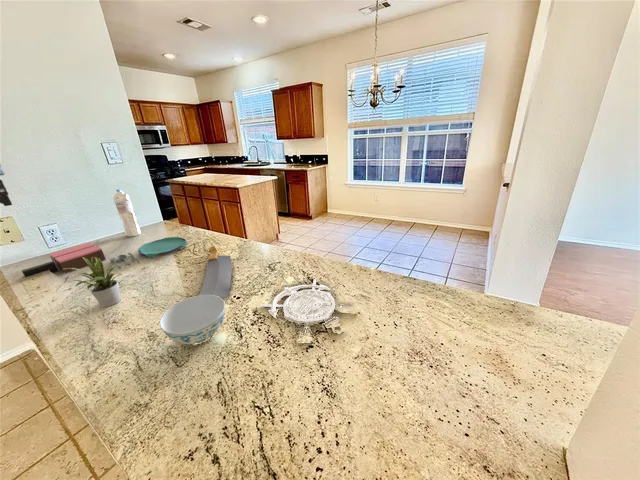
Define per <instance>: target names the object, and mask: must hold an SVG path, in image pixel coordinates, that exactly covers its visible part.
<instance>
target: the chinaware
mask: <svg viewBox="0 0 640 480" xmlns="http://www.w3.org/2000/svg"><path fill="white" fill-rule="evenodd" d="M198 295H199V294H198ZM198 295H195V296H190V297H188V298H185V299H182V300H180V301H179V302H177V303H175V304H174V305H172V306H171V307H169V308H168V309H167V310H165V312H164V313H163V314H162V316H161V318H160V319H159V327H160V330H162V332H163V333H164V334H165V336H167V338H169V339H171V340H172V341H174V342H176V343H179V344H182V345H190V344H195V343H200V342H203V341H205V340H206V339H208V338H209V337H211V336H212V335H213V336H214V334H216V332H218V330H219V329H220V328H221V326H222V323H223V321H224V318H225V315H226V314H225V313H226V303H225V300H223V299H224V298H223V299H221V298H220V297H218V296H215V295H199V296H198ZM213 336H212V337H213Z"/></svg>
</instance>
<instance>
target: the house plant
mask: <svg viewBox="0 0 640 480" xmlns="http://www.w3.org/2000/svg"><path fill="white" fill-rule="evenodd" d="M82 258H83V259H84V260H85V261H86V263H87V265H88V266H87V267H88V268H89V269H90V271H91V273H88V272H86V271H83V270H81V269H75V268H65V269H72V270H74V271H79V272H80V273H74V274H70V277H72V276H74V275H75V276H76V277H78V276H79V275H81V276H83V277H85V278H88V280H80V279H74V280H73V282H78V283H76V284H75V286H74V288H76V287H78V286H79V285H81V284H84V285H83V287H84V286H87V290H89V291H90V293H91V294H92V296H93V297H94V298H95V300H96V301H97V302H98V304H99V305H100V306H101V307H102V306H103V307H102V308H107V307H106V306H108V307H112V306H114V305H116V304H118V303H119V302H120V301H121V300H120V299H122V298H121V292H120V287H119V282H118V280H116V277H119V276H123V274H121V273H119V274H117V275H116V276H115V273H111V272H112V271H113V270H114V269H115V268H118V267H117V266H116V265H115V264H114V263H115V262H116V261H115V262H114V263H112V261H110V263H109V265H108V268H107V271H106V273H105V268H104V263H103V261H101V260H100V259H99V258H98V260H99V261H98V260H97V258H95V259H96V262H95V263H94V260H93V257H92V258H91V262H90V261H89V260H88V259H86V258H84V257H82ZM113 258H115V256H114V257H113ZM113 258H112V260H113ZM116 260H117V262H118V261H119V259H116ZM117 262H116V263H117ZM91 263H92V264H91ZM113 264H114V265H115V266H113ZM105 274H106V276H105ZM118 301H119V302H118ZM117 302H118V303H117ZM115 303H116V304H115ZM113 304H114V305H113ZM111 305H112V306H111Z"/></svg>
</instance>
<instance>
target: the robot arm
mask: <svg viewBox="0 0 640 480" xmlns="http://www.w3.org/2000/svg"><path fill="white" fill-rule="evenodd" d="M4 175H5V171H4V169H3V166H2V165H1V164H0V176H4ZM0 204H2V205H3V206H4V207H7V206H13V203H12V200H11V199H10V197H9V192H8V191H7V188H6V186H5V183H4V181H3V180H2V179H0Z"/></svg>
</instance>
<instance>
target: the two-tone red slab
mask: <svg viewBox="0 0 640 480" xmlns="http://www.w3.org/2000/svg"><path fill="white" fill-rule="evenodd" d="M48 255H49V258H50V259H51V261H53V262H55V261H56V262H57V264H58V266H59V268H60V270H59V271H61V272H62V273H64V274H65V275H66V274H68V273H72V272H74V271H75V270H72V269H65V268H75V269H79V270H81V269H83V268H85V267H89V266H88V265H87V263H86V261H85V260H84V259H83V258H82V257H84V258H86V259H88V260H89V261H90V262H91V258H92V257H93V260H94V263H95V262H96V259H95V258H97V260H98V258H99V259H100V260H101V261H102V262H103V261H106V260H107V258H106V257H105V254H104V251H103V249H102V247H100V246H98V245H95V244H94V243H92V242H86V243H82V244H79V245H75V246H72V247H69V248H66V249H62V250H57V251H55V252H51V253H49V254H48ZM98 261H99V260H98ZM91 264H92V263H91Z"/></svg>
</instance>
